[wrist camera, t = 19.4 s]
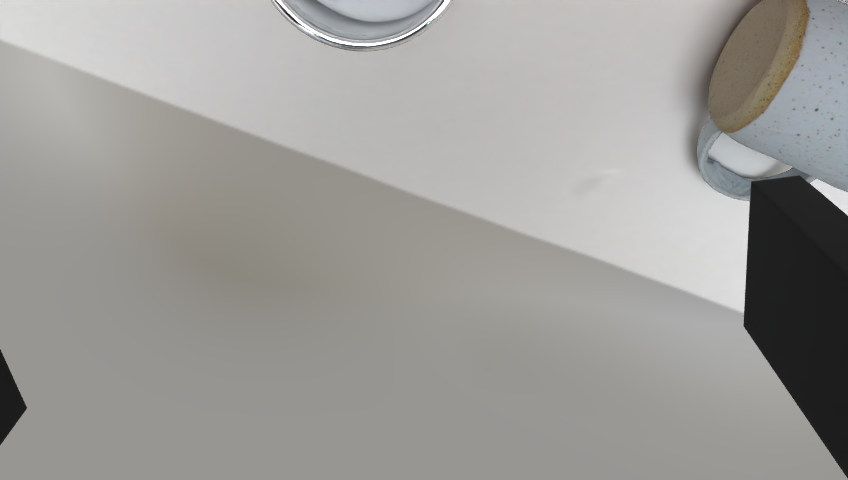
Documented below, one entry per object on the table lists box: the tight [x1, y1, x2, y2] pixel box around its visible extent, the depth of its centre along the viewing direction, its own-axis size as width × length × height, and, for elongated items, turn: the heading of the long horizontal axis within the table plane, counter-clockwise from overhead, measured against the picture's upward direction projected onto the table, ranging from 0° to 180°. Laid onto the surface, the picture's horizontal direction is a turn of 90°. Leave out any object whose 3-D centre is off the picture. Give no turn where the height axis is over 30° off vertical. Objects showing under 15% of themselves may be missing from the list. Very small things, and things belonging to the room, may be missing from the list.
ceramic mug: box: [697, 0, 848, 201], centre depth 37 cm, size 11×8×8 cm
